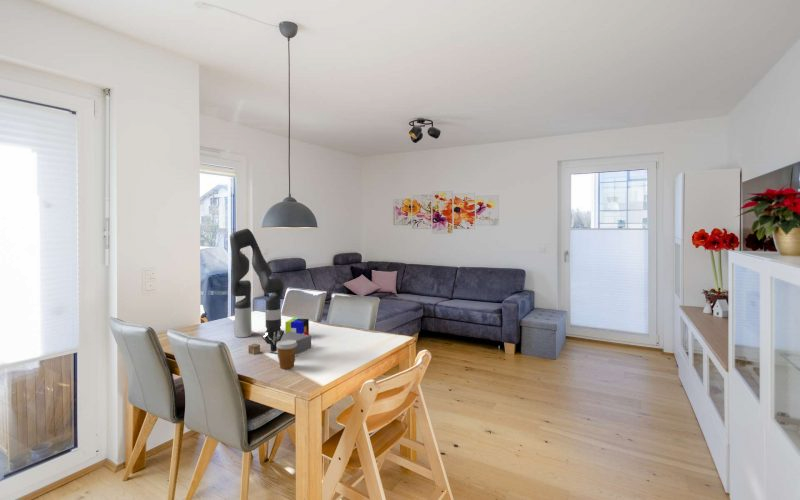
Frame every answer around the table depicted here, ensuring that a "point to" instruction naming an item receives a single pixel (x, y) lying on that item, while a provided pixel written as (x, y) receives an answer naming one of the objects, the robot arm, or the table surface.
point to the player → (299, 341)
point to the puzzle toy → (298, 326)
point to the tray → (270, 348)
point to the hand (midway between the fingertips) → (273, 351)
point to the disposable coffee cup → (286, 353)
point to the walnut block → (254, 348)
